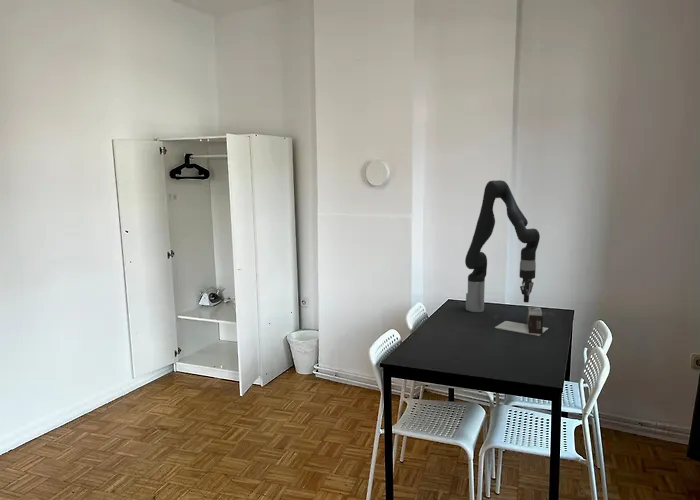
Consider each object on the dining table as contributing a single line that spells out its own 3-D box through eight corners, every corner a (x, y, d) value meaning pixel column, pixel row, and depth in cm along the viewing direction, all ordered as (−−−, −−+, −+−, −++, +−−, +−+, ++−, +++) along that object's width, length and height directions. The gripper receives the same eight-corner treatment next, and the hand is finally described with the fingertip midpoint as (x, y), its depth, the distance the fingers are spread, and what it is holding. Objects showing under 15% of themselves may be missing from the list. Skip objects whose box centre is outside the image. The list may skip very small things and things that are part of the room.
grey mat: (494, 328, 264) (494, 327, 264) (505, 321, 275) (505, 320, 274) (539, 335, 250) (539, 335, 250) (548, 328, 261) (548, 328, 261)
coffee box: (540, 324, 267) (542, 334, 252) (526, 323, 269) (528, 333, 253) (541, 307, 265) (543, 316, 250) (527, 306, 267) (529, 315, 252)
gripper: (524, 265, 270) (523, 298, 272) (515, 269, 259) (514, 303, 262) (539, 267, 265) (538, 300, 268) (530, 271, 255) (529, 306, 257)
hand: (526, 302), depth 265 cm, fingers closed
